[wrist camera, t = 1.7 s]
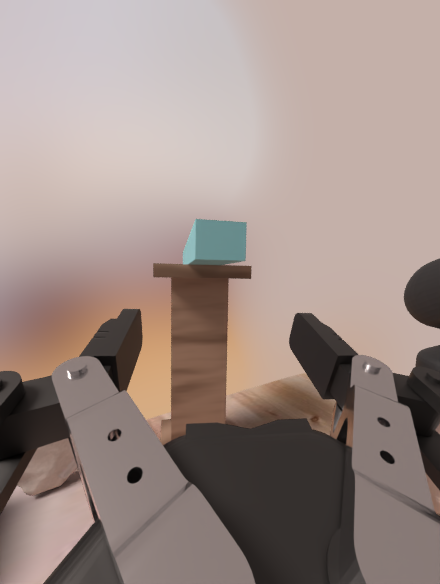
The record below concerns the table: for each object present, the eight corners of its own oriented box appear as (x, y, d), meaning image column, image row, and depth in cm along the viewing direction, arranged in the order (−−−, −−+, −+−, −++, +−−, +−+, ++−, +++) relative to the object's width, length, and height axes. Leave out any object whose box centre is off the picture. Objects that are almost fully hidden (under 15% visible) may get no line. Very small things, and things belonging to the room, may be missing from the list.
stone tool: (8, 518, 28) (1, 403, 27) (8, 499, 30) (1, 392, 29) (91, 473, 34) (88, 379, 33) (85, 460, 37) (82, 372, 36)
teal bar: (245, 260, 18) (246, 222, 18) (195, 259, 17) (195, 219, 17) (202, 268, 45) (203, 253, 45) (182, 267, 44) (182, 252, 44)
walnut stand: (244, 498, 31) (251, 266, 28) (154, 515, 29) (153, 263, 26) (221, 422, 47) (224, 268, 44) (161, 429, 44) (161, 267, 42)
